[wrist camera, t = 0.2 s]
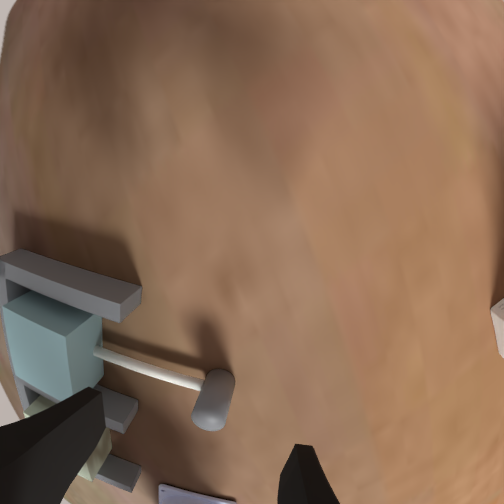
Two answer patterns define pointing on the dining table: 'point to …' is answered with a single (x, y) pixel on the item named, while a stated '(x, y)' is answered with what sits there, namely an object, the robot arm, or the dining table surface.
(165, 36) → the dining table surface
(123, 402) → the lane rack
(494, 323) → the ink cartridge box
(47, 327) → the teal block with cord
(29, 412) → the sage block
